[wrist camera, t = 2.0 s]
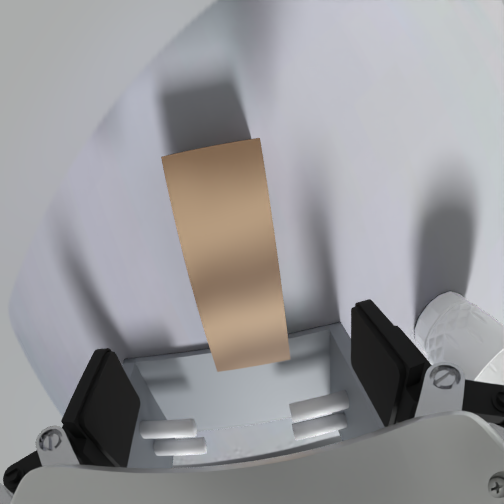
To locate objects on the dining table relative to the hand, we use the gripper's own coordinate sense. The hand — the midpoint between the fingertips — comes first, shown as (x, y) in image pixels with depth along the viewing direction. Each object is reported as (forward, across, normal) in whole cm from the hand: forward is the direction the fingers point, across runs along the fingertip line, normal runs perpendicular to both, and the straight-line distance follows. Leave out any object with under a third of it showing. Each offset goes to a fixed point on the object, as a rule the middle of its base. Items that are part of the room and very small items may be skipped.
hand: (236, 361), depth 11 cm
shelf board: (+12, 0, -1) cm, 12 cm away
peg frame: (+12, +2, +13) cm, 18 cm away
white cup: (+12, -19, +11) cm, 25 cm away
